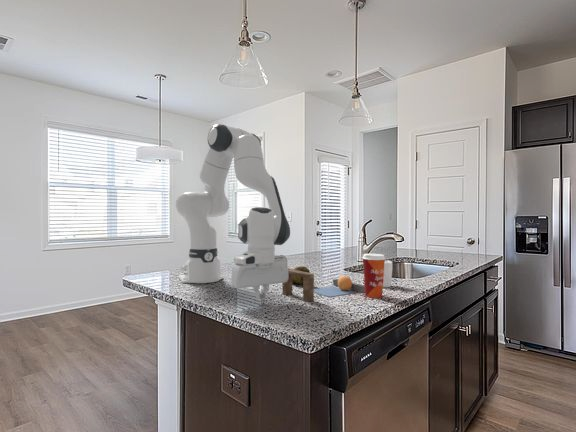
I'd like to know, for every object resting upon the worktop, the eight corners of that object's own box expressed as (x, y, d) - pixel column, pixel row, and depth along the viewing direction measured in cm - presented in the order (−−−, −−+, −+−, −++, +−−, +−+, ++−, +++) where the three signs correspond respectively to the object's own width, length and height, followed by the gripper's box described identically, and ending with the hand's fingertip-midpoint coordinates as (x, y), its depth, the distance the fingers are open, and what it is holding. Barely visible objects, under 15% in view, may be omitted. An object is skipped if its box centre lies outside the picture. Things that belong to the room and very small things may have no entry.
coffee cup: (375, 299, 118) (375, 256, 118) (357, 295, 125) (357, 254, 125) (390, 296, 123) (390, 254, 123) (372, 292, 130) (372, 252, 130)
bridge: (306, 302, 115) (307, 274, 115) (282, 293, 127) (282, 269, 127) (313, 300, 117) (313, 273, 117) (289, 292, 128) (289, 268, 128)
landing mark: (307, 290, 132) (307, 290, 132) (332, 286, 140) (332, 286, 140) (329, 297, 122) (329, 296, 122) (355, 292, 129) (355, 292, 129)
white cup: (385, 288, 137) (385, 263, 137) (368, 285, 143) (368, 261, 142) (396, 286, 142) (396, 261, 142) (379, 283, 148) (379, 259, 148)
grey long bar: (333, 285, 142) (333, 279, 142) (336, 284, 144) (336, 278, 144) (366, 293, 128) (366, 286, 128) (369, 292, 129) (369, 286, 129)
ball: (335, 275, 134) (345, 273, 136) (334, 289, 134) (344, 287, 137) (344, 279, 129) (355, 277, 132) (343, 293, 129) (354, 291, 132)
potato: (303, 281, 152) (303, 263, 152) (312, 287, 139) (312, 267, 139) (285, 281, 150) (285, 263, 150) (292, 288, 137) (292, 268, 137)
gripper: (281, 253, 122) (281, 292, 122) (229, 257, 110) (229, 301, 110) (292, 255, 116) (292, 296, 116) (238, 259, 105) (238, 305, 105)
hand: (261, 298), depth 113 cm, fingers closed
